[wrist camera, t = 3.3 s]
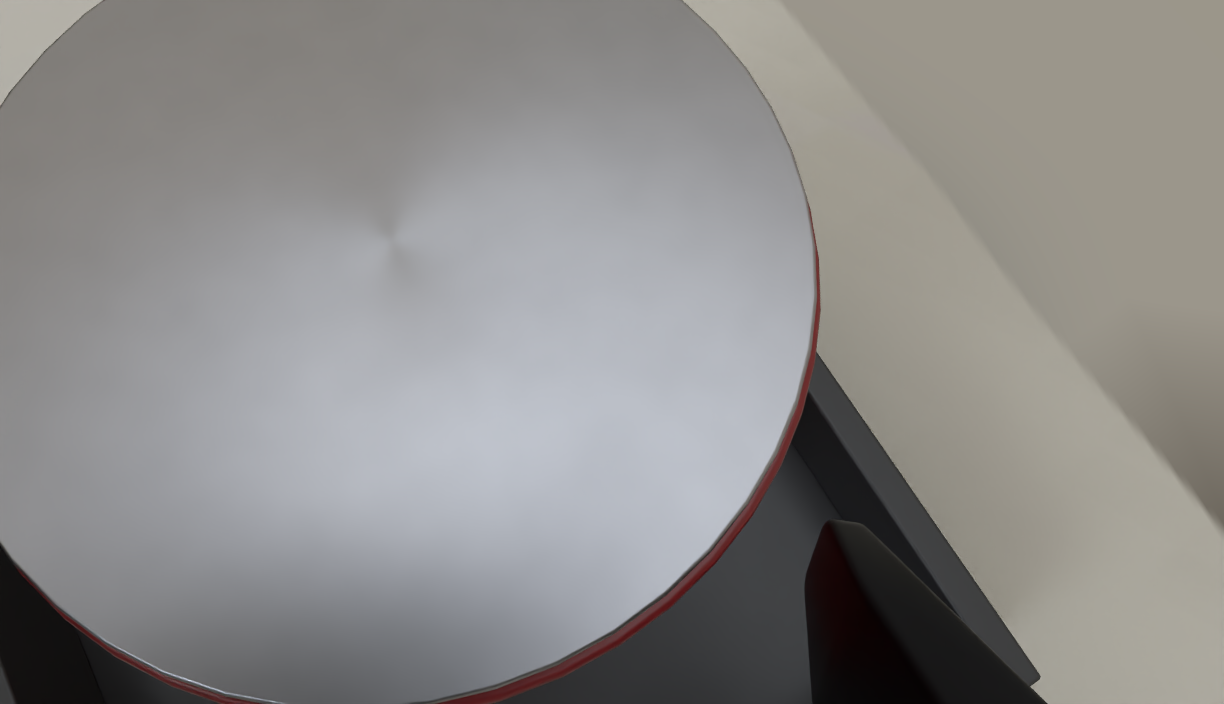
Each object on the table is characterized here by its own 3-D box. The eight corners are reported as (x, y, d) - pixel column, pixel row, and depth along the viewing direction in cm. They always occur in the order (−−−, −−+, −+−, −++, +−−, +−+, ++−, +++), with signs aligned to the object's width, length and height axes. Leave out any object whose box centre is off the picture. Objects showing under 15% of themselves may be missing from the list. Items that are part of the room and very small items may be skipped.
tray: (262, 1178, 14) (188, 1324, 11) (-11, 479, 17) (-122, 457, 14) (966, 664, 17) (1044, 678, 14) (627, 158, 20) (637, 90, 18)
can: (441, 696, 16) (121, 974, 4) (303, 423, 17) (-210, 87, 6) (708, 528, 17) (1007, 398, 6) (560, 287, 19) (557, -207, 7)
